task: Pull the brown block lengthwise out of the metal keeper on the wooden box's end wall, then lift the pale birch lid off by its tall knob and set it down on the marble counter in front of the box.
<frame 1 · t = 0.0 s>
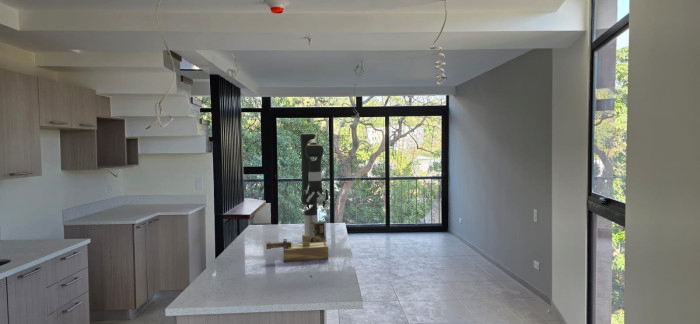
hand: (315, 207, 222), 29 cm above the counter, fingers open, 8 cm apart
wooden box: (306, 257, 225), on the counter
lid: (306, 247, 225), point 6 cm above the counter, touching wooden box
brown block: (278, 244, 222), point 9 cm above the counter, slide at 0.0 cm
coffee box: (318, 248, 245), on the counter
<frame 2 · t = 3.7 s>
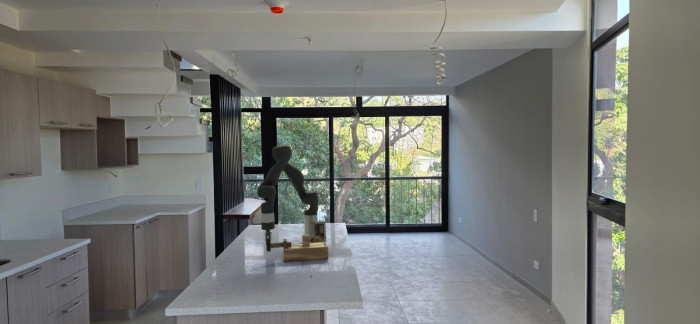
hand: (268, 250, 221), 6 cm above the counter, fingers closed on brown block, 3 cm apart
brown block: (278, 244, 222), point 9 cm above the counter, slide at 0.0 cm, touching gripper
everything else where it was.
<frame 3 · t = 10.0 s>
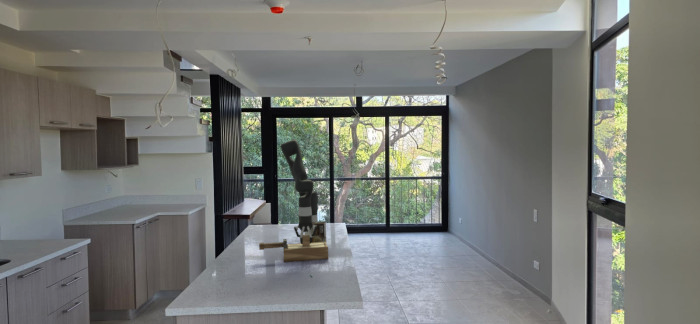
hand: (306, 243, 225), 8 cm above the counter, fingers closed on lid, 4 cm apart
lid: (306, 247, 225), point 6 cm above the counter, touching gripper, wooden box
brown block: (271, 245, 221), point 8 cm above the counter, slide at 3.9 cm
everything else where it was.
when the fingers open (4 cm above the counter, at t = 15.3 s): lid drops 2 cm, on the counter.
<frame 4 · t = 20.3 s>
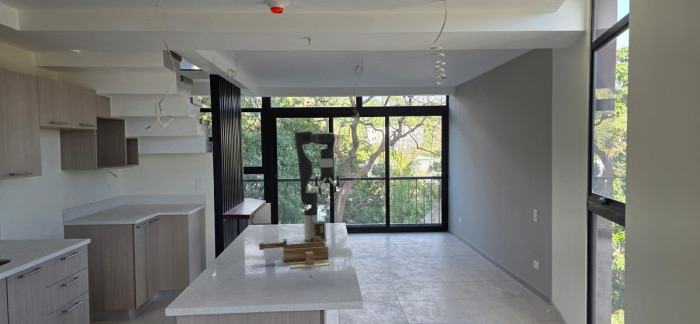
hand: (327, 193, 232), 36 cm above the counter, fingers open, 8 cm apart
lid: (309, 265, 213), on the counter
everything else where it was.
at the end: brown block slide at 3.9 cm; lid inside the target area (0.5 cm from its centre), on the counter; lid tilted 0° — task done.
